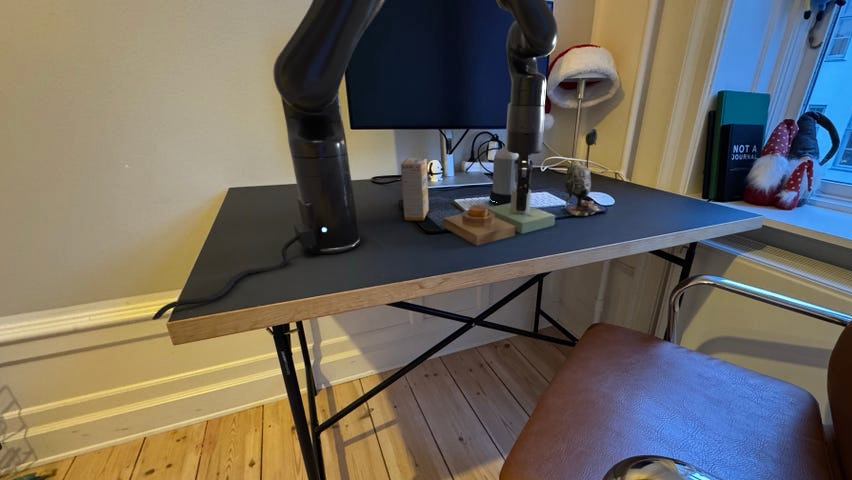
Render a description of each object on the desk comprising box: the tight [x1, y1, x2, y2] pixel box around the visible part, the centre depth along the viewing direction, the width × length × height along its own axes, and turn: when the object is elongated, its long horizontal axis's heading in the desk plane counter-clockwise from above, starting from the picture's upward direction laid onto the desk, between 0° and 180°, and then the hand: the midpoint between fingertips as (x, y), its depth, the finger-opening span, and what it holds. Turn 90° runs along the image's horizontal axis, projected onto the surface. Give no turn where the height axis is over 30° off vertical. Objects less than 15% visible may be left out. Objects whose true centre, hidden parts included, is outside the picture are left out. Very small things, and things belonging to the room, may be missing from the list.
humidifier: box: [489, 102, 519, 207], centre depth 95 cm, size 8×8×25 cm
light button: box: [468, 204, 489, 217], centre depth 78 cm, size 4×4×2 cm
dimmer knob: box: [511, 186, 532, 214], centre depth 84 cm, size 4×4×5 cm
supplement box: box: [400, 157, 430, 221], centre depth 86 cm, size 8×5×13 cm, turn 179°
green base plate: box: [487, 203, 556, 235], centre depth 86 cm, size 10×13×3 cm
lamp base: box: [442, 209, 516, 246], centre depth 79 cm, size 10×13×4 cm
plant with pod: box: [564, 128, 602, 217], centre depth 90 cm, size 8×11×20 cm
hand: (520, 206), depth 85 cm, fingers closed on dimmer knob, 4 cm apart
